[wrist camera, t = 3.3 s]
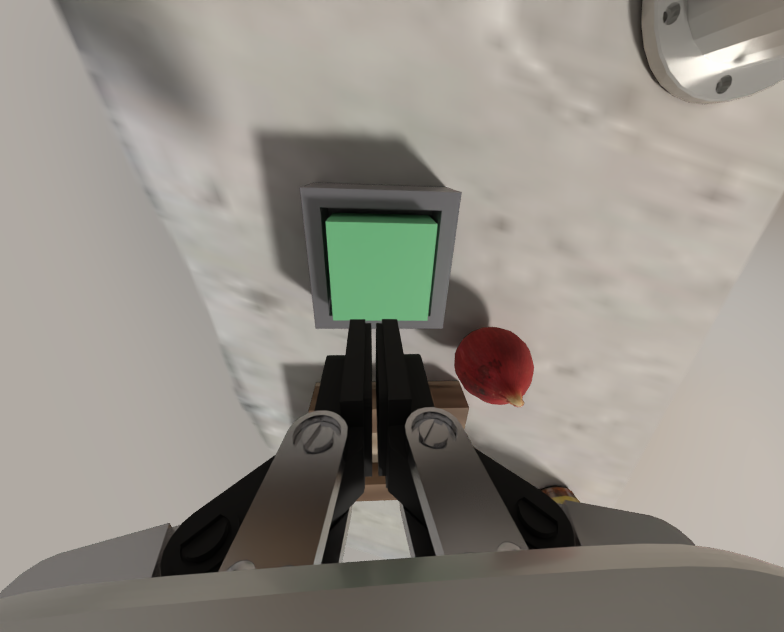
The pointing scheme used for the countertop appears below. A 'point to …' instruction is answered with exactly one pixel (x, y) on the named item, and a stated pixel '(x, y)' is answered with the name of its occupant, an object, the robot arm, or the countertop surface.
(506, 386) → the onion
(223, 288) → the countertop surface
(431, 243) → the button
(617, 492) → the countertop surface
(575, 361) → the countertop surface
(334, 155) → the countertop surface
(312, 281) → the button housing
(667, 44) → the robot arm
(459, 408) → the open box
